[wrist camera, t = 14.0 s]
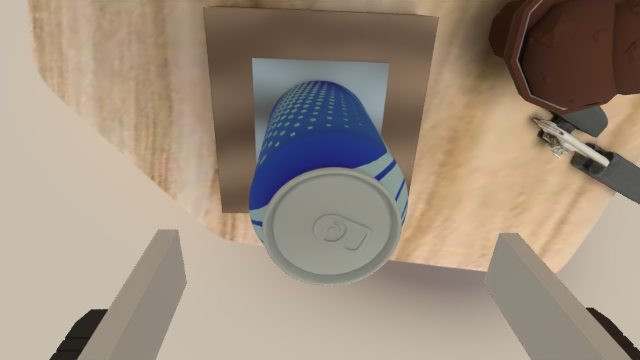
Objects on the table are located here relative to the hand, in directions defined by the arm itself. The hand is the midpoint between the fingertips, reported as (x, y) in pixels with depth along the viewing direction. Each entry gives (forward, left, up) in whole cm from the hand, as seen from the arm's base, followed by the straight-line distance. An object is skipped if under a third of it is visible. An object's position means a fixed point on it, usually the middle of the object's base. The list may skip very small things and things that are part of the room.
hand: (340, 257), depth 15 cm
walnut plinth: (0, 0, -24) cm, 24 cm away
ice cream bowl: (-8, +19, -25) cm, 32 cm away
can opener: (+4, +31, -25) cm, 40 cm away
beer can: (0, 0, -18) cm, 18 cm away
